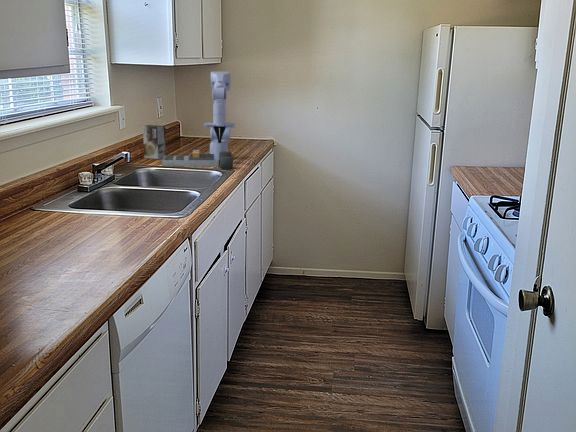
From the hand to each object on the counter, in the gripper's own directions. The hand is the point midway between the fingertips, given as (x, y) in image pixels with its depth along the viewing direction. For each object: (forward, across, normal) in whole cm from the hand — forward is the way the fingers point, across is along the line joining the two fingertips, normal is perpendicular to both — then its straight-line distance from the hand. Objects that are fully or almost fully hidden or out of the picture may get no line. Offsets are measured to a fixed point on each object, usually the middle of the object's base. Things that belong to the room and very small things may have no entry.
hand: (219, 142), depth 275 cm
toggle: (+7, -11, -2) cm, 14 cm away
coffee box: (+11, -32, +19) cm, 39 cm away
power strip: (+10, -14, 0) cm, 17 cm away
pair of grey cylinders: (+10, +3, -3) cm, 11 cm away
